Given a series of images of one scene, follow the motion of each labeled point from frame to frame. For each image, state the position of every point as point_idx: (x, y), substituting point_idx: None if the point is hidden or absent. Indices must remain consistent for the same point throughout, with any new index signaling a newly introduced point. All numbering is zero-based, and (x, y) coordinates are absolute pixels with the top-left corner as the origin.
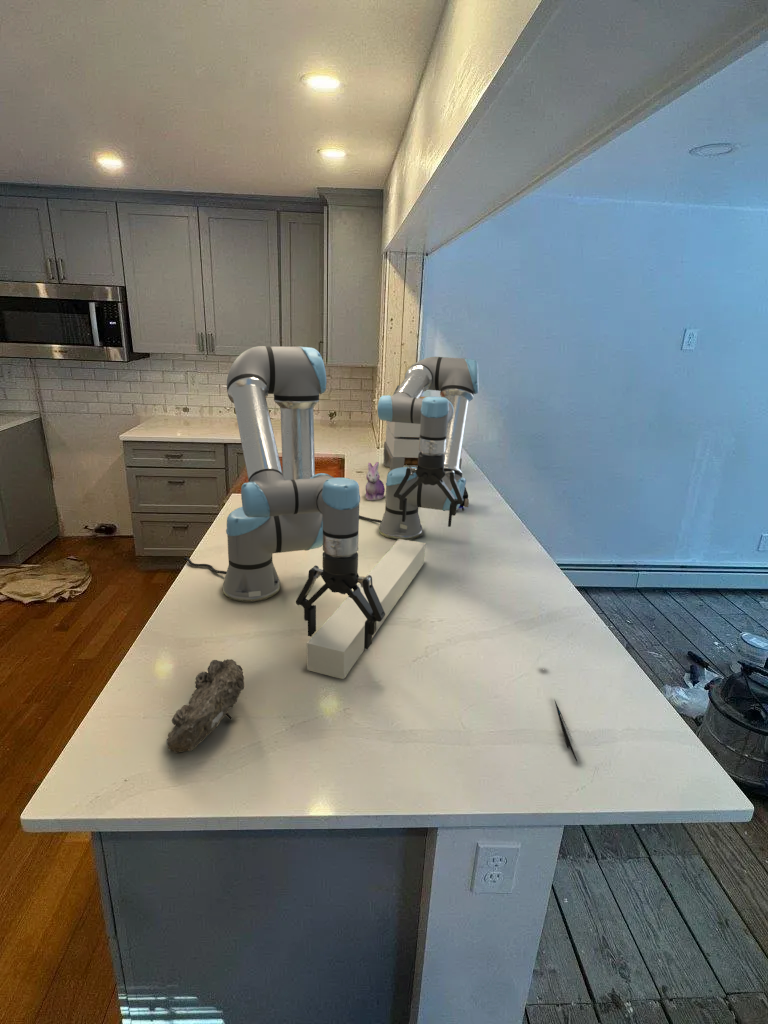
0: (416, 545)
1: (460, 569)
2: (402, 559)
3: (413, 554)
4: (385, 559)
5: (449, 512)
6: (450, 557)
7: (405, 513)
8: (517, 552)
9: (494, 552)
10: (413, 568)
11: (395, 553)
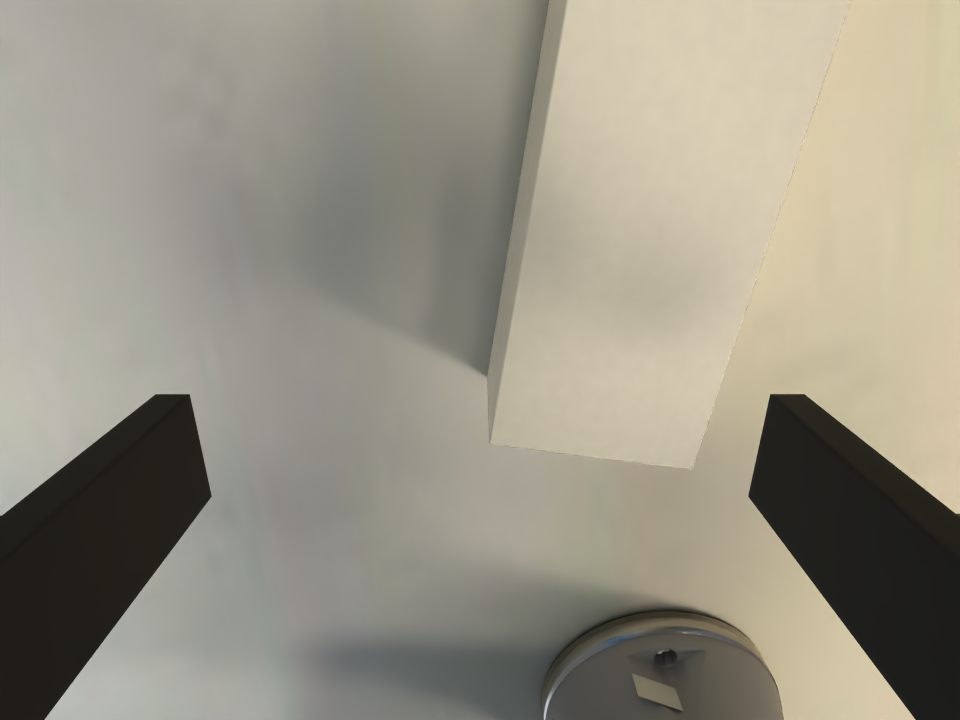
0: (552, 386)
1: (266, 356)
2: (648, 60)
3: (559, 205)
4: (806, 8)
5: (39, 523)
6: (352, 488)
7: (818, 495)
8: None
9: (141, 599)
10: (536, 120)
11: (714, 179)
